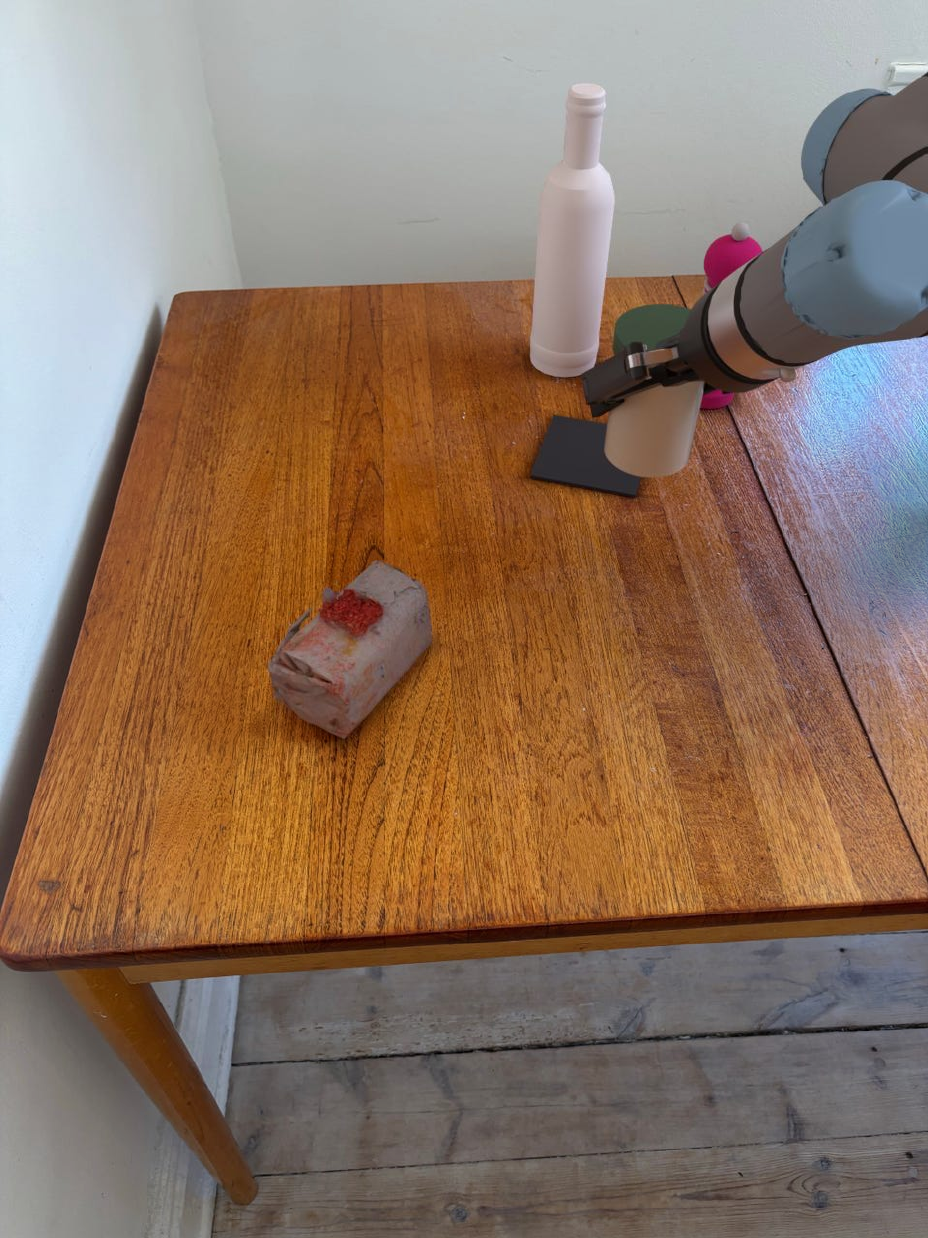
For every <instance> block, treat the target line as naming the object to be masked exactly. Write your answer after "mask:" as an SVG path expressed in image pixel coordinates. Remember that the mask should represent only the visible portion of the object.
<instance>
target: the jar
mask: <svg viewBox="0 0 928 1238" xmlns="http://www.w3.org/2000/svg"><path fill="white" fill-rule="evenodd" d="M704 387H705V381H696V382H688V383H686V384H683V385H680V386H674V387H663V386H662V385H660V386H657V387H655V388H652V389H649V390H646V391H643V392H641V393H638V394H635V395H632V396H629V397H626V398H624V401H625V402H624V403H623V404H621V405H619V406H617V407H616V408H614V409H612V410H611V411H609V412H607V413H608V414H607V420H606V421H607V422H606V424H607V428H606V436H605V443H604V451H605V454H606V457H607V458H608V460H609V461H610V462H611V463H612V464H613V465H614V466H615V467H617V468H618V469H620V470H622V471H624V472H626V473H629V474H632V475H635V476H640V477H641V478H649V479H650V478H651V479H654V478H655V479H657V478H663V477H669V476H672V475H674V474H677V473H678V472H681V471H682V470H683V469H684V468H685V467H686V466H687V465H688V463H689V461H690V458H691V454H692V449H693V445H694V440H695V434H696V429H697V425H698V421H699V416H700V411H701V408H700V406H701V401H702V397H703V392H704Z"/></svg>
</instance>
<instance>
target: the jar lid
mask: <svg viewBox="0 0 928 1238" xmlns="http://www.w3.org/2000/svg"><path fill="white" fill-rule="evenodd" d="M691 309H692V308H689V307H685V306H681V305H675V304H667V303H651V304H644V305H640V306H637V307H633V308H631V309H628V310H627V311H625V312H623V313H622V314H621V315H620V316H619V317H618V318H617V319H616V321H615V324H614V329H613V335H612V337H613V338H612V345H611V346H612V347H611V348H612V352H613V356H614V355H616V354H618V353H620V352H622V351H623V349H624V348H625V346H626V345H629V344H630V343H631V342H642V345H647V348H648V352H649V351H654V350H655V347H656V344H657V343H658V342H660V341H662V340H664V339H667V338H669V337H672V336H674V335H677V334H678V333H679V332H680V330H681V329H683V328H684V325H685V322H686V320H687V317H688V315H689V313H690V311H691ZM678 375H682V374H678Z"/></svg>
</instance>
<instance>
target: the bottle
mask: <svg viewBox="0 0 928 1238" xmlns="http://www.w3.org/2000/svg"><path fill="white" fill-rule="evenodd" d="M606 94H607V93H606V90H605V88H603V87H602V86H601V85H598V84H596V83H591V82H590V83H588V82H581V83H576V84H573V85H572V86H570V87H569V89H568V90H567V98H566V101H565V110H566V115H565V128H564V140H563V141H564V143H563V155H562V160H561V161H559V162H558V164H556V165H555V166H554V167H552V168H551V170H550V171H549V172H548V174H547V176H546V178H545V180H544V182H543V184H542V187H541V190H540V193H539V205H538V206H539V207H538V221H537V222H538V223H537V237H536V253H535V255H536V256H535V269H534V270H535V271H534V272H535V273H534V286H533V303H532V316H531V317H532V318H531V332H530V336H529V348H530V350H529V359H530V363H531V364H532V365H533V367H534V368H535V369H536V370H538V371H540V372H541V373H542V374H544V375H547V376H552V377H554V378H555V377H556V378H566V379H567V378H575V377H579V376H581V374H582V373H584V372H585V371H588V370H589V369H591V368H593V367H595V366H596V365H595V364H596V362H597V355H598V352H599V347H600V346H599V345H600V329H601V323H602V322H601V320H602V313H603V304H604V295H605V288H606V278H607V271H608V261H609V254H610V246H611V245H610V244H611V236H612V230H613V229H612V228H613V219H614V210H615V202H616V197H615V191H614V187H613V183H612V178H611V174H610V173H609V172H608V171H607V170H606V168H605V167H604V166H603V164H602V163H600V161H599V160H600V154H601V153H600V151H601V142H602V133H603V123H604V122H603V121H604V113H605V112H606V109H607V103H606Z"/></svg>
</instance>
